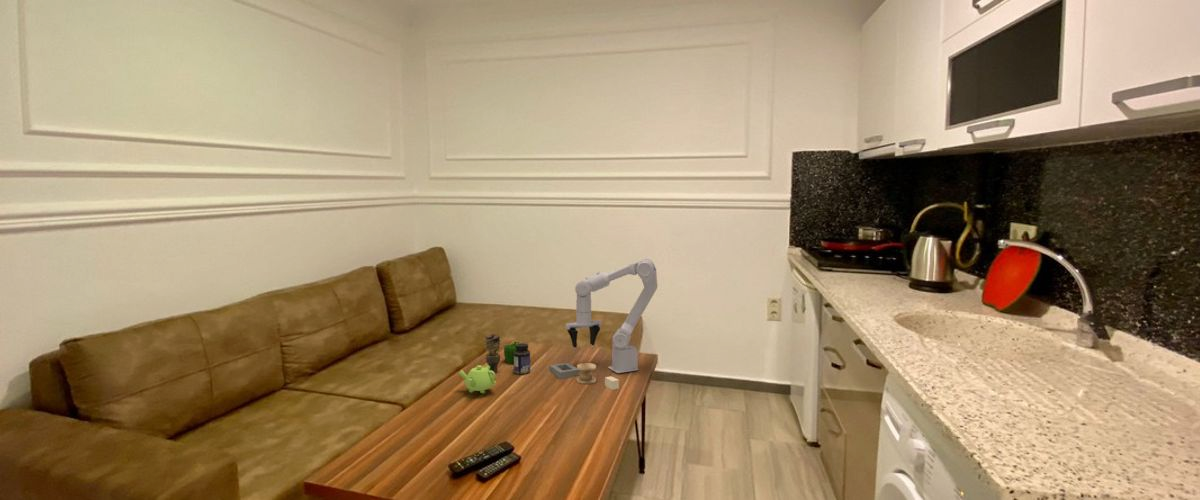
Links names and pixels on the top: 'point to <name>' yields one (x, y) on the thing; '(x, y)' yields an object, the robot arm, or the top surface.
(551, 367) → the board with rectangular hole
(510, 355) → the bell pepper
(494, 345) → the dark carved statue
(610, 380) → the rectangular block
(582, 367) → the bobbin
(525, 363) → the pill bottle
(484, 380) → the teapot
